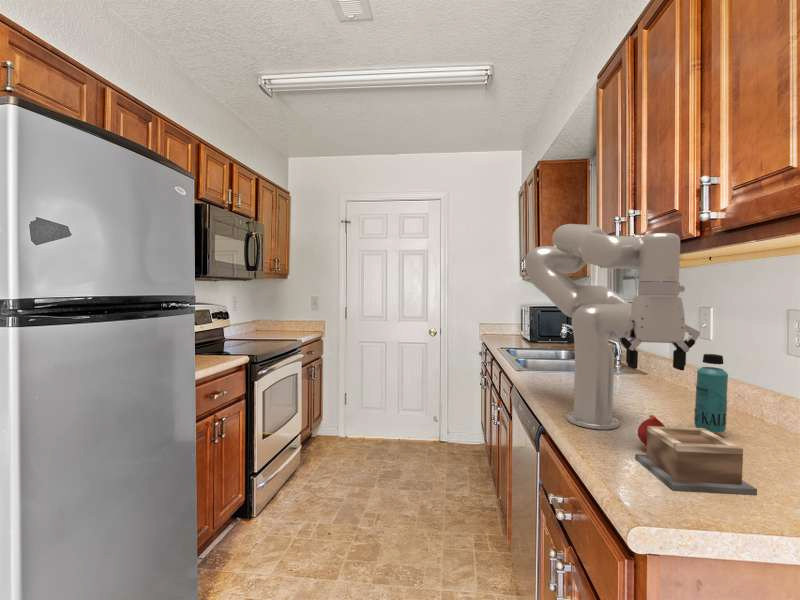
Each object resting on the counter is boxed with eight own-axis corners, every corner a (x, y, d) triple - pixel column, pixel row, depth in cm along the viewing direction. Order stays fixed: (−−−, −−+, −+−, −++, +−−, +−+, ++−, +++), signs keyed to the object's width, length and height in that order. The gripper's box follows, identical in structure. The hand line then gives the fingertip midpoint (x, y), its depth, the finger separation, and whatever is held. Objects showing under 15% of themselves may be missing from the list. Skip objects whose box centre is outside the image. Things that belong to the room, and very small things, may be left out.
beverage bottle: (702, 428, 109) (705, 351, 108) (732, 437, 103) (735, 355, 102) (687, 432, 106) (690, 353, 105) (717, 441, 100) (720, 357, 99)
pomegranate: (657, 446, 96) (658, 411, 96) (674, 456, 90) (675, 419, 90) (632, 445, 96) (633, 411, 95) (647, 456, 90) (649, 419, 90)
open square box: (635, 458, 88) (636, 423, 88) (705, 461, 87) (706, 426, 87) (672, 490, 74) (674, 448, 74) (756, 494, 73) (758, 452, 73)
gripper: (689, 291, 95) (686, 366, 95) (609, 289, 96) (607, 364, 97) (711, 291, 87) (708, 373, 88) (624, 289, 89) (621, 370, 89)
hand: (655, 368), depth 92 cm, fingers open, 9 cm apart
